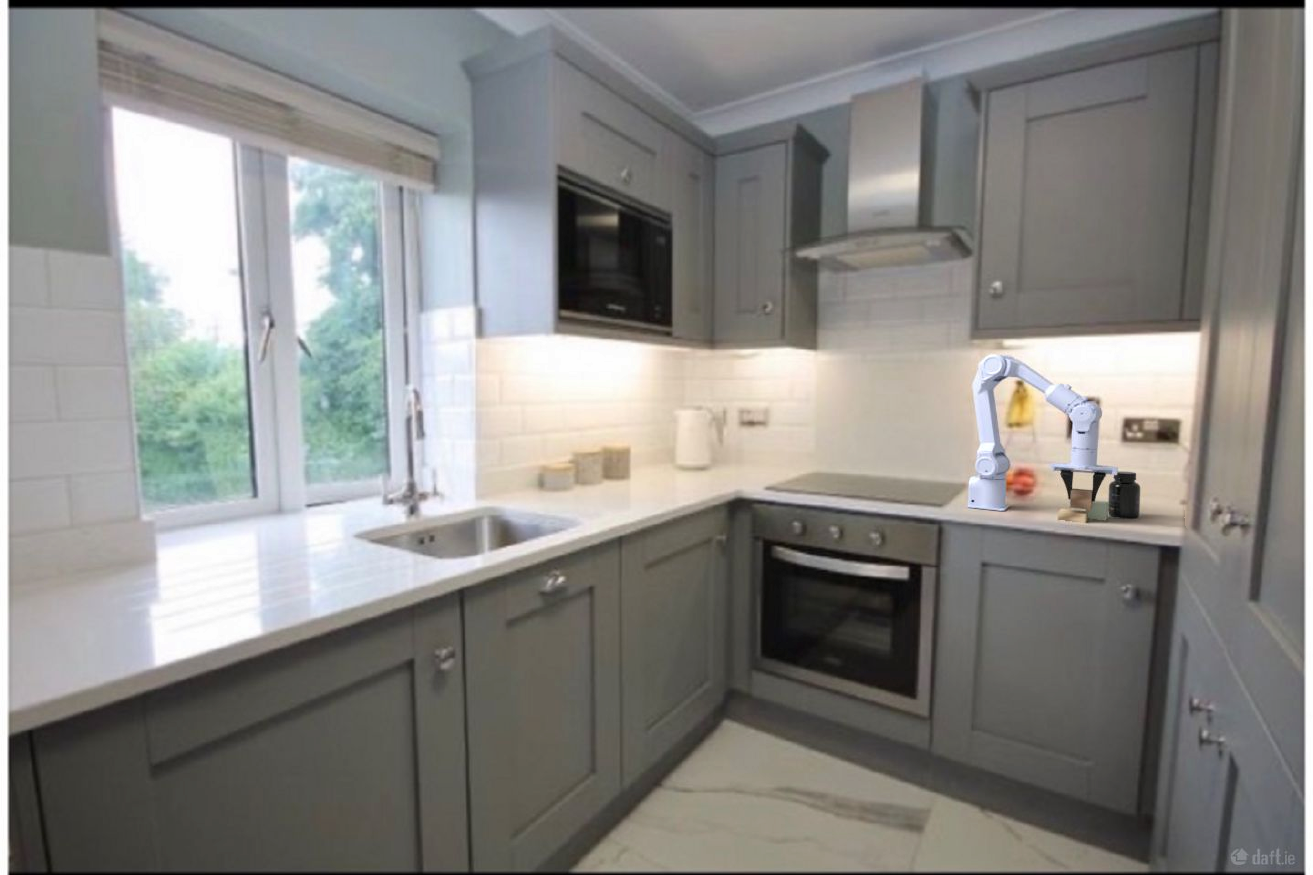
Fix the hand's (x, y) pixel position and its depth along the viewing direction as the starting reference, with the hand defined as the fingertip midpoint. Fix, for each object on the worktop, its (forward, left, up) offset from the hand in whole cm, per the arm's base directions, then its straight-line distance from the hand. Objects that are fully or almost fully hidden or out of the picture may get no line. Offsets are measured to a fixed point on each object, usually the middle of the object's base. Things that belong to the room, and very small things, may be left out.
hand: (1081, 499), depth 165 cm
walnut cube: (0, 0, -2) cm, 2 cm away
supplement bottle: (+8, +12, -6) cm, 16 cm away
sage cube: (+3, +6, -6) cm, 8 cm away
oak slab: (-2, 0, -6) cm, 6 cm away
